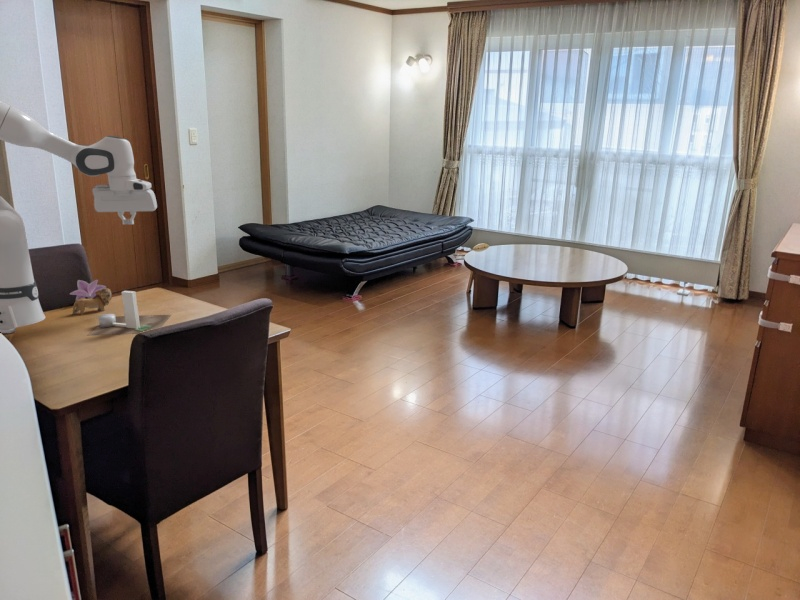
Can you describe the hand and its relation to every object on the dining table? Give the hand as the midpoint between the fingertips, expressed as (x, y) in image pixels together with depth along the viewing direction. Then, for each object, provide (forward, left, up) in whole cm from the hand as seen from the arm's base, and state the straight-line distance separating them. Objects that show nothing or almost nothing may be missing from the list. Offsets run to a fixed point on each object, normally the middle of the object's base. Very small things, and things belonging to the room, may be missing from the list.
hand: (128, 224), depth 210 cm
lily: (-21, +11, -31) cm, 40 cm away
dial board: (+5, -23, -31) cm, 39 cm away
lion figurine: (-14, -6, -31) cm, 35 cm away
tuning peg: (+1, -25, -29) cm, 38 cm away
